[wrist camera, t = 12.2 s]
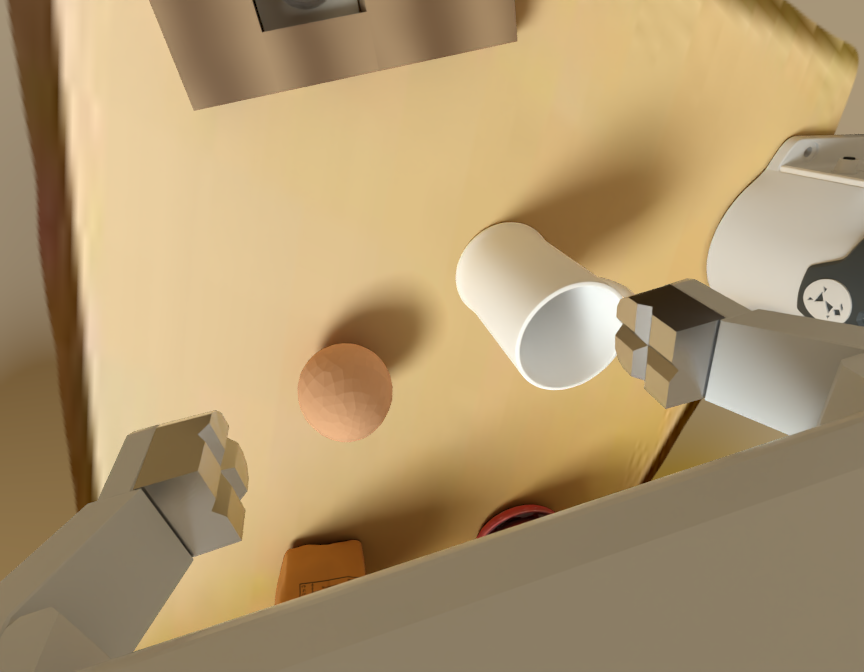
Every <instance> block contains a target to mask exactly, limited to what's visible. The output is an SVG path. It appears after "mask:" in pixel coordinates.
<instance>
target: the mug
mask: <svg viewBox="0 0 864 672" xmlns="http://www.w3.org/2000/svg"><path fill="white" fill-rule="evenodd" d="M456 286H457V290H458V293H459V295H460V297H461V299H462V300H463V302H464V303H465V304H466V305H467V306H468V307H469V308H470V309H471V310H472V311H474V312H475V313H476V314H477V316H478V317H479V318H480V320H481V321H482V322H483V324H484V325H485V326H486V328H487V329H488V330H489V332H490V333H491V334H492V336H493V337H494V338H495V340H496V341H497V342H498V344H499V345H500V346H501V348H502V349H503V350H504V352H505V353H506V354H507V356H508V357H509V358H510V360H511V361H512V362H513V364H514V365H515V366H516V368H517V369H518V370H519V372H520V373H521V374H522V376H523V377H524V378H525V379H526V380H527V381H528V382H530V383H531V384H533V385H535V386H537V387H539V388H543V389H548V390H562V389H568V388H572V387H575V386H578V385H580V384H583V383H585V382H587V381H588V380H590V379H592V378H593V377H595V376H596V375H598V374H599V373H600V372H601V371H603V370H604V369H605V368H606V367H607V366H608V365H609V364H610V363H611V361H612V360H613V359H614V358H615V356H616V355H617V354H616V350H615V335H616V333H617V332H618V330H619V329H620V327H621V326H622V323H621V322H620V321H619V320H618V319H617V317H616V314H617V305H618V303H619V301H620V299H622V298H623V297H624V298H625V297H629V296H632V295H635V294H634V293H633V292H632V291H631V290H630V289H628V288H627V287H625V286H623V285H621V284H619V283H617V282H615V281H612V280H609V279H606V278H602V277H597V276H596V275H594V274H593V273H591V272H590V271H588V270H587V269H586V268H584V267H583V266H581V265H580V264H578V263H577V262H575V261H574V260H573V259H571V258H570V257H568V256H567V255H565V254H564V253H563V252H561V251H560V250H558V249H557V248H555V247H554V246H552V245H551V244H550V243H548V242H547V241H545V240H544V238H543V237H542V236H541V234H540V233H539V232H537V231H536V230H535V229H533V228H532V227H530V226H528V225H525V224H522V223H517V222H505V223H500V224H496V225H493V226H491V227H489V228H487V229H485V230H483V231H482V232H480V233H479V234H478V235H476V236H475V237H474V238H473V239H472V240H471V241H470V242H469V244H468V245H467V246H466V248H465V249H464V251H463V253H462V254H461V257H460V259H459V262H458V265H457V269H456ZM622 296H623V297H622Z"/></svg>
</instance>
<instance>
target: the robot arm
mask: <svg viewBox="0 0 864 672" xmlns="http://www.w3.org/2000/svg"><path fill="white" fill-rule="evenodd" d="M707 277H708V282H709V285H710V287H711V288H710V287H708V286H706V285H704V284H703V283H701V282H699V281H697V280H695V279H684V280H681V281H677V282H674V283H671V284H668V285H665V286H663V287H659V288H656V289H653V290H649V291H646V292H642V293H639V294H636V295H632V296H629V297H625V298H622V299H620V301H619V303H618V305H617V314H616V317H617V319H618V320H619V321H620V322H621V323H622V326H621V327H620V329H619V330H618V332H617V333H616V335H615V350H616V354H617V357H618V360H619V362H620V364H621V365H622V367H623V368H624V370H625V371H626V372H627V373H628V374H629V375H630V376H632V377H635V378H639V379H642V380H645V384H644V389H645V390H646V391H647V392H648V393H649V394H650V395H651V396H652V397H654V398H655V399H656V400H657V401H658V402H659V403H660V404H661V405H662V406H663V407H664V408H665V409H667V408H670V407H674V406H678V405H681V404H685V403H688V402H692V401H695V400H699V399H703V398H705V400H706V401H709V402H711V403H714V404H716V405H718V406H721V407H723V408H726V409H728V410H731V411H733V412H735V413H738V414H740V415H742V416H745V417H747V418H750V419H752V420H755V421H757V422H759V423H762V424H764V425H766V426H769V427H771V428H774V429H776V430H778V431H781V432H783V433H786V434H788V435H789V436H786V437H783V438H780V439H777V440H774V441H771V442H768V443H765V444H762V445H759V446H756V447H753V448H750V449H747V450H744V451H742V452H738V453H735V454H732V455H729V456H726V457H723V458H720V459H717V460H714V461H711V462H708V463H705V464H702V465H699V466H695V467H692V468H690V469H686V470H683V471H680V472H677V473H674V474H671V475H668V476H665V477H662V478H659V479H656V480H653V481H650V482H647V483H644V484H641V485H638V486H635V487H632V488H629V489H626V490H622V491H619V492H616V493H613V494H610V495H607V496H604V497H601V498H598V499H595V500H592V501H589V502H586V503H583V504H580V505H577V506H574V507H571V508H568V509H565V510H562V511H559V512H556V513H553V514H550V515H547V516H544V517H541V518H538V519H535V520H532V521H529V522H526V523H522V524H519V525H516V526H513V527H510V528H507V529H504V530H501V531H498V532H495V533H492V534H489V535H486V536H483V537H480V538H477V539H474V540H471V541H468V542H465V543H462V544H459V545H456V546H453V547H450V548H447V549H444V550H441V551H438V552H435V553H432V554H429V555H426V556H423V557H420V558H417V559H414V560H411V561H408V562H404V563H401V564H398V565H395V566H392V567H389V568H386V569H383V570H380V571H377V572H374V573H371V574H368V575H365V576H362V577H359V578H356V579H353V580H350V581H347V582H344V583H341V584H338V585H335V586H332V587H329V588H326V589H323V590H320V591H317V592H314V593H311V594H308V595H305V596H302V597H298V598H295V599H292V600H289V601H286V602H283V603H280V604H277V605H274V606H271V607H268V608H265V609H262V610H259V611H256V612H253V613H250V614H247V615H244V616H241V617H238V618H235V619H232V620H229V621H226V622H223V623H220V624H217V625H214V626H211V627H208V628H205V629H202V630H199V631H196V632H193V633H189V634H186V635H183V636H180V637H177V638H174V639H171V640H168V641H165V642H162V643H159V644H156V645H153V646H150V647H147V648H144V649H141V650H138V651H135V652H133V651H134V650H135V648H136V647H137V645H138V644H139V642H140V641H141V639H142V637H143V636H144V634H145V633H146V631H147V630H148V628H149V627H150V625H151V624H152V622H153V621H154V619H155V618H156V616H157V615H158V613H159V612H160V610H161V609H162V607H163V606H164V604H165V603H166V601H167V599H168V598H169V596H170V595H171V593H172V592H173V590H174V589H175V587H176V586H177V584H178V583H179V581H180V580H181V578H182V577H183V575H184V574H185V572H186V571H187V569H188V568H189V566H190V564H191V563H192V561H193V558H192V557H195V556H198V555H201V554H204V553H207V552H210V551H213V550H216V549H219V548H222V547H224V546H227V545H230V544H233V543H236V542H239V541H242V535H243V526H244V518H245V508H244V507H243V505H242V503H241V501H240V500H241V498H242V497H243V496H244V495H245V493H246V492H247V491H248V480H249V477H248V469H247V463H246V460H245V457H244V454H243V451H242V449H241V448H240V446H239V444H238V443H237V442H235V441H233V440H231V439H229V438H227V435H228V429H229V425H228V423H227V422H226V420H225V418H224V416H223V415H222V413H221V412H219V411H217V410H214V411H210V412H206V413H202V414H198V415H194V416H190V417H187V418H183V419H179V420H175V421H171V422H167V423H163V424H161V425H155V426H152V427H148V428H144V429H141V430H137V431H134V432H132V433H131V434H129V435H127V437H126V439H125V441H124V443H123V446H122V448H121V450H120V452H119V454H118V457H117V459H116V461H115V463H114V465H113V468H112V470H111V472H110V474H109V476H108V479H107V481H106V483H105V485H104V488H103V490H102V492H101V494H100V496H99V499H98V501H96V502H92V503H89V504H87V505H86V506H85V507H84V508H83V509H81V510H80V511H79V512H78V513H77V514H76V515H75V516H74V517H72V518H71V519H70V520H69V521H68V522H67V523H66V524H65V525H64V526H63V527H61V528H60V529H59V530H58V531H57V532H56V533H55V534H53V535H52V536H51V537H50V538H49V539H48V540H47V541H46V542H45V543H43V544H42V545H41V546H40V547H39V548H38V549H37V550H36V551H34V553H32V554H31V555H30V556H29V557H28V558H27V559H26V560H24V561H23V562H22V563H21V564H20V565H19V566H18V567H16V569H14V570H13V571H12V572H11V573H10V574H9V575H8V576H6V577H5V578H4V579H3V580H2V581H1V582H0V672H864V134H858V135H857V134H855V135H812V136H793V137H791V138H789V139H788V140H787V141H785V142H784V144H783V145H782V146H781V147H780V148H779V150H778V151H777V153H776V154H775V156H774V157H773V159H772V160H771V162H770V163H769V165H768V167H767V168H766V170H765V171H764V172H763V173H762V174H761V175H760V176H759V177H758V178H757V179H756V180H755V181H754V182H753V183H752V184H750V185H749V186H748V187H747V188H746V189H745V190H744V191H743V192H742V193H741V194H740V195H739V197H738V198H737V199H736V200H735V201H734V202H733V204H732V205H731V206H730V208H729V209H728V211H727V212H726V214H725V215H724V217H723V218H722V220H721V222H720V224H719V225H718V228H717V230H716V232H715V234H714V236H713V239H712V242H711V245H710V248H709V253H708V258H707Z"/></svg>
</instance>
